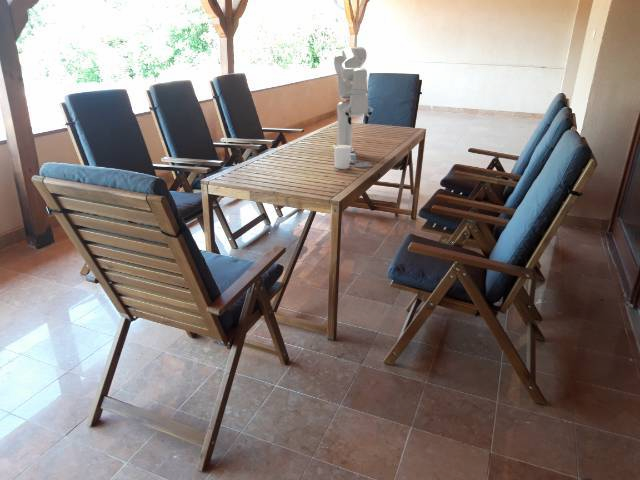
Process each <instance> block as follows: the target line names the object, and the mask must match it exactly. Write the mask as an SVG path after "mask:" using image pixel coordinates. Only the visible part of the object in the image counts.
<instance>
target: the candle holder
mask: <svg viewBox="0 0 640 480" xmlns="http://www.w3.org/2000/svg"><path fill="white" fill-rule="evenodd" d="M333 153H334V154H333V155H334V156H333V158H334V159H333V160H334V161H333V162H334V168H335V169H339V170H346V169H349V167H350V164H351V163H350V153H352V152H351V146H349V145H337V144H335V145H334V146H333Z"/></svg>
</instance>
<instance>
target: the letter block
mask: <svg viewBox="0 0 640 480" xmlns="http://www.w3.org/2000/svg"><path fill="white" fill-rule="evenodd" d="M356 159H357V154H356V153H355V152H351V153H350V164H353V163H357V161H356Z"/></svg>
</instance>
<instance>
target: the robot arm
mask: <svg viewBox="0 0 640 480" xmlns="http://www.w3.org/2000/svg"><path fill="white" fill-rule="evenodd" d="M333 59H334V60H333V61H334V62H333V65H334V70H335V72H336V76H337V86H338V87H337V88H338V97H339V98H340V99H341V100H342V101H339V102H338V103H337V105H336V113H337V141H336V142H337V144H336V145H349V146H351V153H354V151H355V149H354V148H353V127H354V126H353V122H352V118H353V117H354V118H355V117H362V116H364V115H365V116H364V124H365V125H368V123H369V117H370V116H371V115H372V114H373V111H374V108H373V107H371V106H370V105H369V102H368V95H367V94H369V91H370V90H368V89H367V82H368V81H367V80H368V79H367V77H368V71H367V70H366V68H364V67H363V65H364V64H365V63H366V60H367V50H366V49H365V48H364V47H362V46H347V47H345V48H344V49H343V51H342V52H341V53H339V54H336V55H335V56H334V58H333ZM344 100H346V101H344ZM368 111H369V112H368Z"/></svg>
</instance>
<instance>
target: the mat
mask: <svg viewBox="0 0 640 480" xmlns="http://www.w3.org/2000/svg"><path fill="white" fill-rule="evenodd" d="M352 165H354V167H356V168H358V169H359V168H360V169H361V168H363V169H365V168H373V167H374V166H373V165H372V164H371V163H370V162H367V161H366V162H365V161H362V162H361V161H360V162H356V163H352Z"/></svg>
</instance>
